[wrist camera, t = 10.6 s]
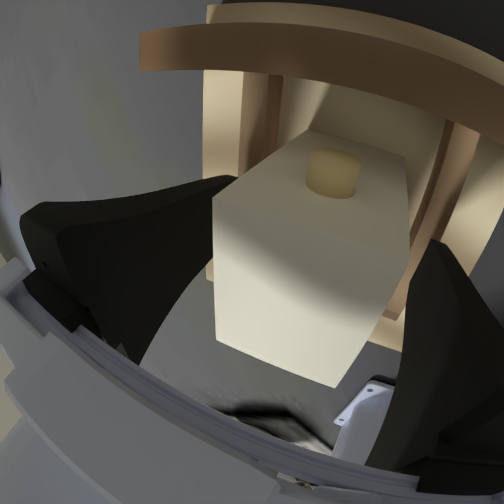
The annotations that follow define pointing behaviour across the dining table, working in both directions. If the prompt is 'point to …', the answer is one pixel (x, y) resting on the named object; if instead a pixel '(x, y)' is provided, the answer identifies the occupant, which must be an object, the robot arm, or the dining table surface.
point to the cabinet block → (310, 253)
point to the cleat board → (353, 110)
